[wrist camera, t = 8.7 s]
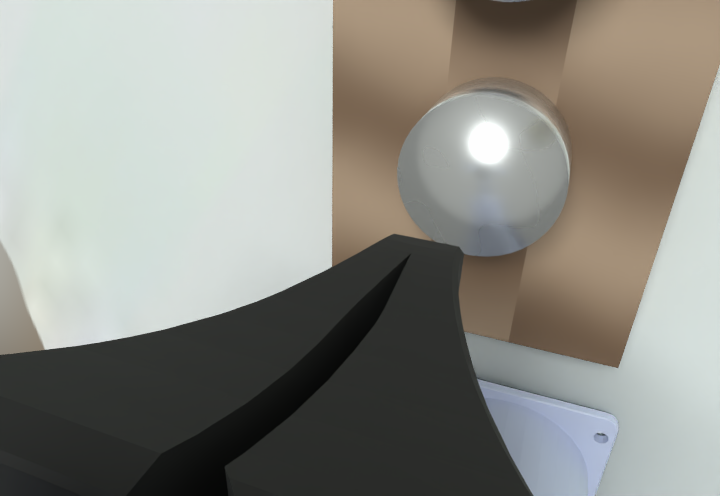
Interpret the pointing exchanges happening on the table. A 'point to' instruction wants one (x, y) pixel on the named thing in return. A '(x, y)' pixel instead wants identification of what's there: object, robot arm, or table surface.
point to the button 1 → (487, 167)
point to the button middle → (510, 0)
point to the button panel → (586, 127)
